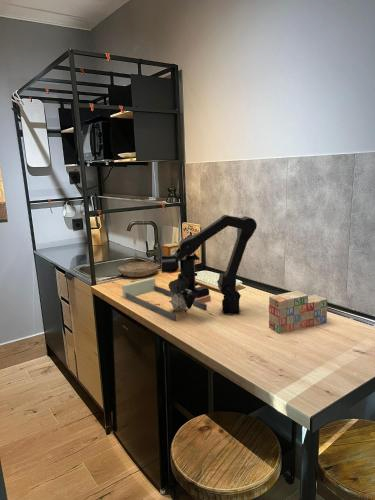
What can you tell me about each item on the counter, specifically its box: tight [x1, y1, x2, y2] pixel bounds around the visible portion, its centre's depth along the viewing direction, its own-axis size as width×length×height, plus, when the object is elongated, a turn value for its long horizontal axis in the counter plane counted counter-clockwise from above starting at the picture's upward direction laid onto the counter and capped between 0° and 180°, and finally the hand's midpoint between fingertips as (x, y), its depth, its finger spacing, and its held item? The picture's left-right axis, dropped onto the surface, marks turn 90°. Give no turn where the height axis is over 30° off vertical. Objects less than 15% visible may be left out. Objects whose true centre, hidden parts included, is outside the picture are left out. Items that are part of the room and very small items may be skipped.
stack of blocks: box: [268, 290, 328, 335], centre depth 135 cm, size 21×6×12 cm, turn 113°
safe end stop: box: [121, 277, 156, 299], centre depth 178 cm, size 2×17×6 cm, turn 129°
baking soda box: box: [161, 242, 180, 275], centre depth 216 cm, size 10×6×16 cm
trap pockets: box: [192, 294, 212, 306], centre depth 168 cm, size 16×9×2 cm, turn 39°
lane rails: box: [125, 284, 208, 322], centre depth 163 cm, size 38×17×2 cm, turn 39°
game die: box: [168, 293, 187, 313], centre depth 154 cm, size 9×8×10 cm
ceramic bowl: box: [117, 261, 160, 278], centre depth 213 cm, size 23×24×5 cm
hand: (189, 308), depth 149 cm, fingers closed
